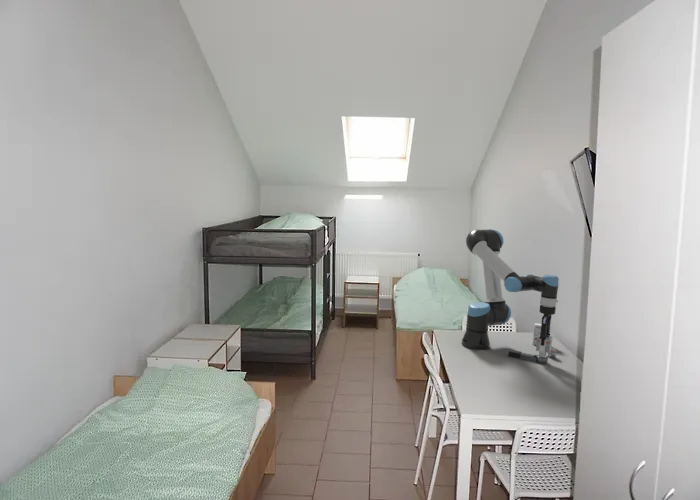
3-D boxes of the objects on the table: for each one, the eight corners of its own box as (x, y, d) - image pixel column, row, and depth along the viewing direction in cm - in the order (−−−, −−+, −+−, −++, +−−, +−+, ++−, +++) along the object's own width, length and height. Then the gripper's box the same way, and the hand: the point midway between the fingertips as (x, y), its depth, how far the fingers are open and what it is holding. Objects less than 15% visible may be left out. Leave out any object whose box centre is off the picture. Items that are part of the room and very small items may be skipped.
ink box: (548, 344, 296) (550, 324, 295) (548, 347, 292) (550, 327, 290) (532, 342, 299) (534, 322, 297) (532, 344, 294) (534, 324, 293)
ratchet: (507, 356, 271) (509, 343, 270) (510, 353, 276) (511, 341, 275) (546, 365, 262) (547, 351, 261) (548, 361, 267) (549, 348, 266)
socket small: (546, 357, 274) (547, 349, 273) (548, 355, 277) (549, 347, 277) (555, 359, 272) (556, 350, 271) (556, 357, 275) (557, 348, 275)
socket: (535, 350, 263) (537, 337, 262) (538, 347, 269) (539, 334, 268) (549, 353, 260) (550, 339, 259) (551, 349, 266) (552, 336, 265)
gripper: (552, 310, 251) (547, 356, 254) (558, 303, 268) (554, 346, 271) (536, 307, 255) (531, 352, 258) (543, 300, 272) (539, 343, 275)
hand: (543, 349), depth 265 cm, fingers closed on socket, 6 cm apart
